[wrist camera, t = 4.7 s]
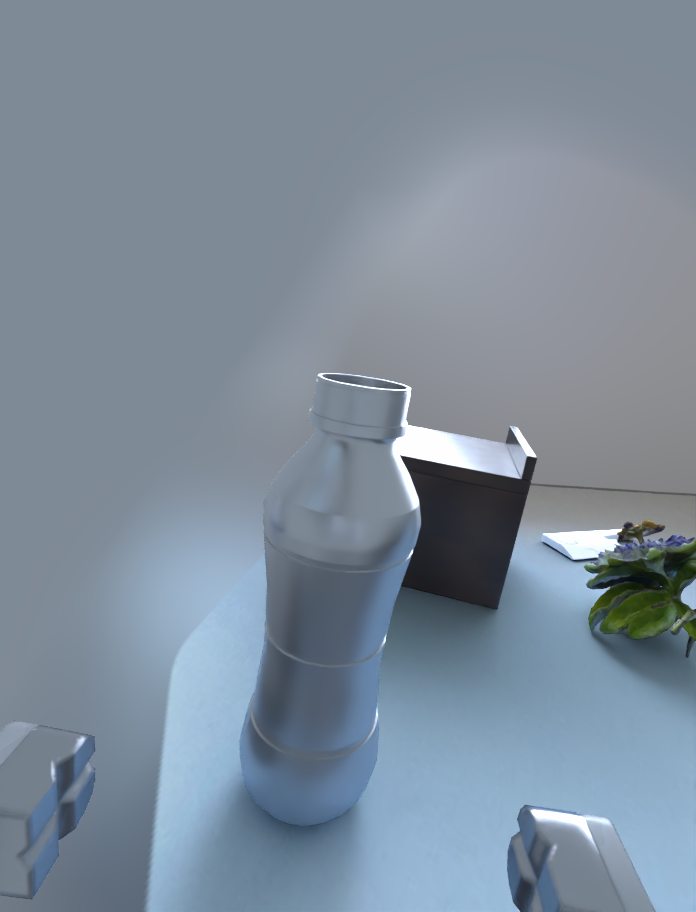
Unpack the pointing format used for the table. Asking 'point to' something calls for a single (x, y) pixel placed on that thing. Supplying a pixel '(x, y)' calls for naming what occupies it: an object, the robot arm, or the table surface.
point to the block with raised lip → (465, 510)
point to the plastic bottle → (330, 601)
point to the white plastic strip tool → (583, 542)
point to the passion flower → (644, 585)
